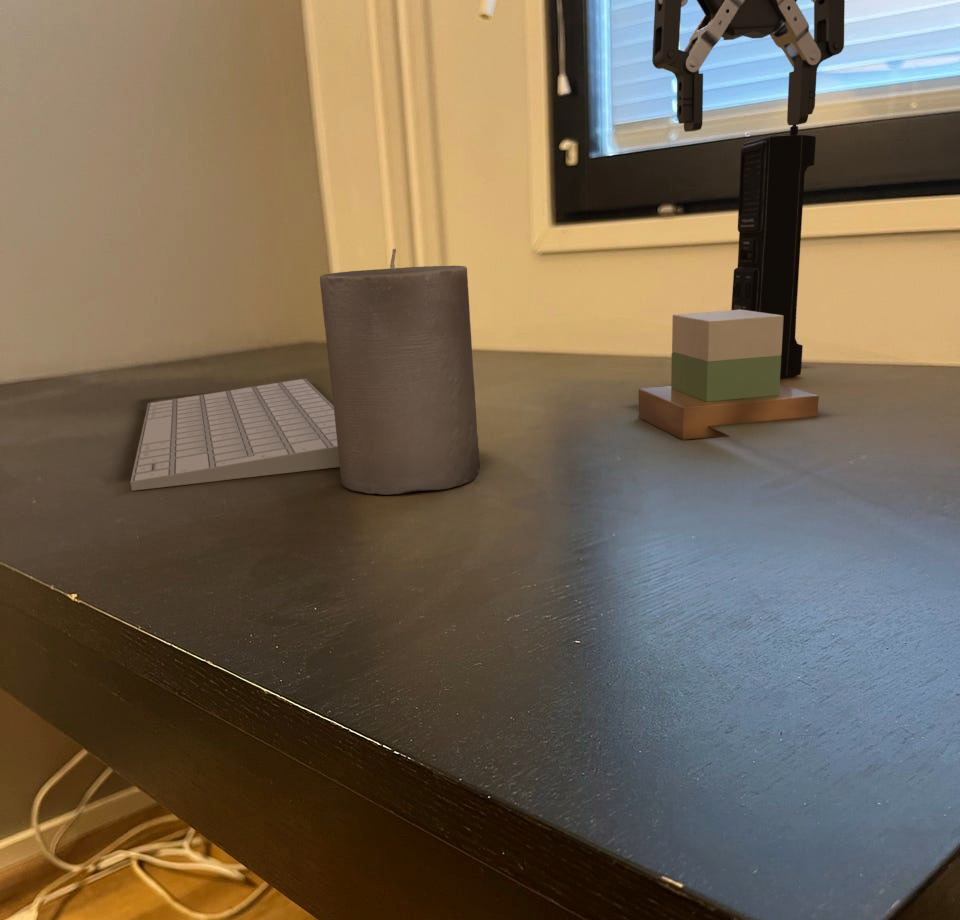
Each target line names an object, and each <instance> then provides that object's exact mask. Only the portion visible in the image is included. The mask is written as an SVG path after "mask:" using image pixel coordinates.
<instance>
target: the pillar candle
mask: <svg viewBox="0 0 960 920" xmlns="http://www.w3.org/2000/svg"><path fill="white" fill-rule="evenodd" d="M396 253H397V249H396V248H393V249H392V253H391V259H390V264H389V268H382V269H381V268H377V269H365V270H364V269H363V270H349V271H340V272H339V271H338V272H331V273H326V274H322V275H320V276H319V286H320V294H321V303H322V313H323V314H322V315H323V323H324V330H325V341H326V349H327V350H326V351H327V358H328V359H327V360H328V368H329V377H330V385H331V386H330V388H331V395H332V405H333V406H334V415H335V425H336V434H337V445H338V453H339V463H340V467H339V471H340V479H341V485H342V486H343V487H344V488H345V489H347V490H350V491H353V492H358V493H364V494H372V495H376V494H377V495H387V496H388V495H389V496H390V495H401V494H407V493H414V492H426V491H427V492H428V491H441V490H448V489H453V488H455V487H460V486H463V485H465V484H468V483H470V482H472V481H473V480H474V479H477V476H478V475H479V470H480V468H481V462H480V449H479V435H478V423H477V422H478V421H477V408H476V407H477V405H476V404H477V403H476V389H475V377H474V376H475V374H474V362H473V361H474V359H473V345H472V343H473V342H472V329H471V327H472V325H471V316H470V314H471V311H470V310H471V309H470V296H469V280H468V279H469V278H468V267H467V266H465V265H433V266H431V265H430V266H429V265H428V266H425V265H424V266H408V267H407V266H406V267H396V265H395V260H396Z"/></svg>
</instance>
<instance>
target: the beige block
mask: <svg viewBox="0 0 960 920" xmlns="http://www.w3.org/2000/svg"><path fill="white" fill-rule="evenodd" d="M783 318H784V316H783V315H776V314H769V313H762V312H755V311H747V310H731V309H730V310H716V311H704V312H703V311H701V312H690V313H675V314H672V325H671V326H672V327H671V329H672V331H671V332H672V333H671V353H672V352H674V353H678V354H681V355H685V356H689V357H692V358H696V359H699V360H703V361H707V362H714V361H726V360H739V359H751V358H763V357H775V356H781V353H782V336H783Z"/></svg>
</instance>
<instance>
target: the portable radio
mask: <svg viewBox="0 0 960 920" xmlns="http://www.w3.org/2000/svg"><path fill="white" fill-rule="evenodd" d="M816 142H817V136H815V135H812V134H799V125H791V127H789V134H783V135H768V136H764V137H760V138H758V139H757V138H756V139H754V140H750V141H746V142H745V143H744V144H743V146H742V148H741V149H740V164H739V165H740V167H739V187H738V188H739V189H738V190H739V191H738V211H737V212H738V213H737V231H738V236H739V237H738V253H737V267H736V268H734V269H733V278H732V279H733V280H732V294H731V307H730V308H731V309H730V310H747V311H755V312H762V313H769V314H776V315H783V316H784V318H783V336H782V353H781V370H780V379H786V378H792V377H793V378H794V377H797V376H800V375H802V366H803V365H802V363H803V347H804V345H803V344H799V343H798V342H797V340H796V339H797V338H796V331H797V308H798V293H799V278H800V277H799V276H800V275H799V274H800V260H801V259H800V258H801V240H802V223H803V209H804V191H805V190H804V189H805V175H806V171H807V170H808V168H809V167H813V166H815V157H816Z"/></svg>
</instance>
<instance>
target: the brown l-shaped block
mask: <svg viewBox="0 0 960 920" xmlns="http://www.w3.org/2000/svg"><path fill="white" fill-rule="evenodd" d="M819 397H820V396H819V395H818V394H815V393H812V392H808V391H805V390H801V389H798V388H795V387H790V386H787V385H784V384H780V388H779V396H768V397H757V398H746V399H734V400H723V401H712V402H706V401H703V400H700V399H698V398H695V397H693V396H690V395H687V394H685V393H682V392H679V391H677V390H674V389H671V385H665V386H654V387H653V386H652V387H642V388H638V418H639V419H641V420H642V421H645V422H647V423H649V424H651V425H653V426H655V427H657V428H659V429H661V430H663V431H665V432H667V433H668V434H671V435H672V436H674V437H676V438H678V439H680V440H682V441H686V440H687V441H688V440H697V439H708V438H718V437H719V438H720V437H729V436H730V435H729V434H727V433H725V432H723V431H720V430H718V429H716V428H713V426H723V425H734V424H743V423H744V424H746V423H756V422H767V421H778V420H788V419H800V418H810V417H818V413H819V401H820V398H819Z"/></svg>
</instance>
